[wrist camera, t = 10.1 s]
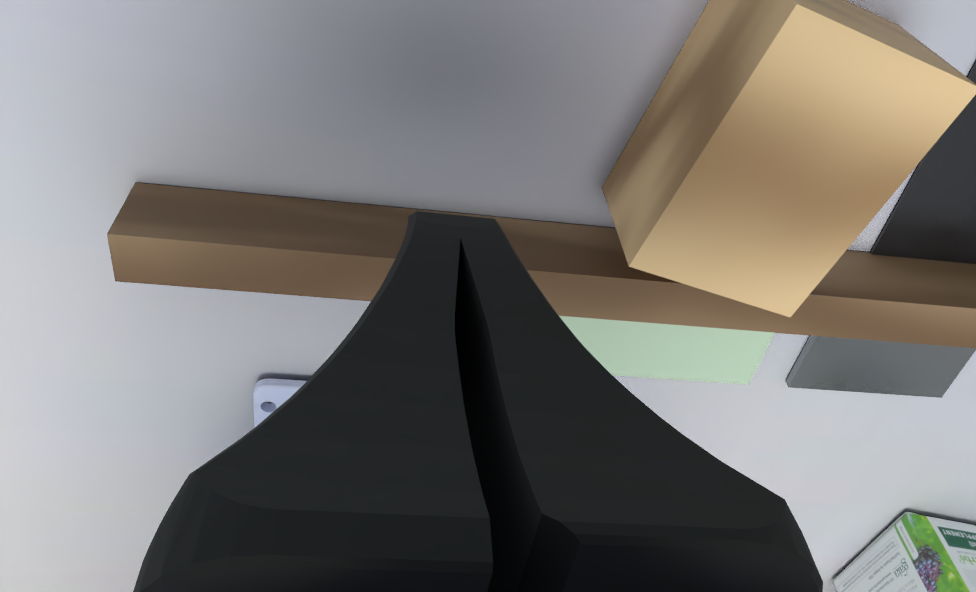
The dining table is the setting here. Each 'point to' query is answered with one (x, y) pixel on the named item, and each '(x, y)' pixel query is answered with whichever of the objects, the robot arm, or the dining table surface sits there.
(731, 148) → the oak block
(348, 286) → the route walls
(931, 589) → the syrup box
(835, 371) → the trap bay
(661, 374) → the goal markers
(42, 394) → the dining table surface
